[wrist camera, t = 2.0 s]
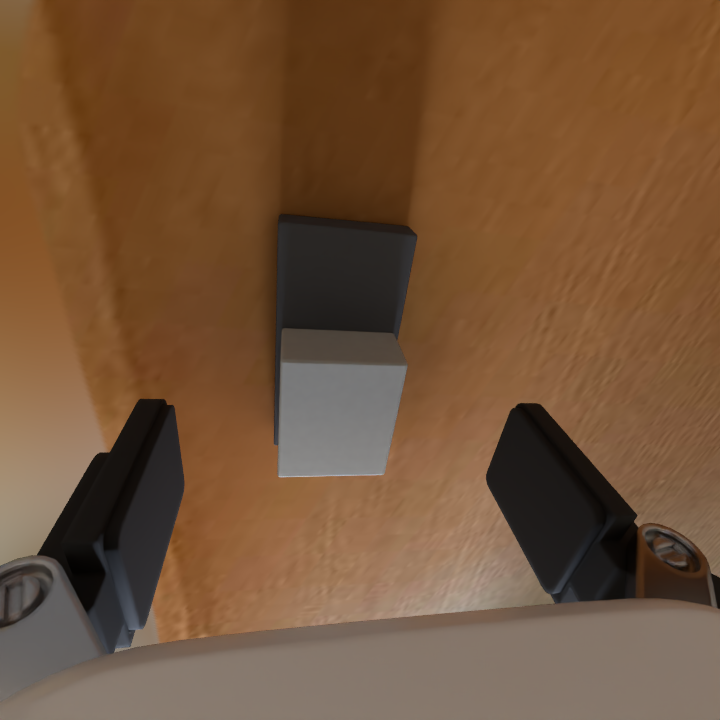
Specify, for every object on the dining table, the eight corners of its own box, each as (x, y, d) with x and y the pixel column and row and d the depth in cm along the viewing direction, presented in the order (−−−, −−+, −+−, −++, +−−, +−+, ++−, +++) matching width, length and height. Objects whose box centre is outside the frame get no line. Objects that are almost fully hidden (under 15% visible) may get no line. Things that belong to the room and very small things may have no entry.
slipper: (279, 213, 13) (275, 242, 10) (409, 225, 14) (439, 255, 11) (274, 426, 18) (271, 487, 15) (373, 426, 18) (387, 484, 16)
